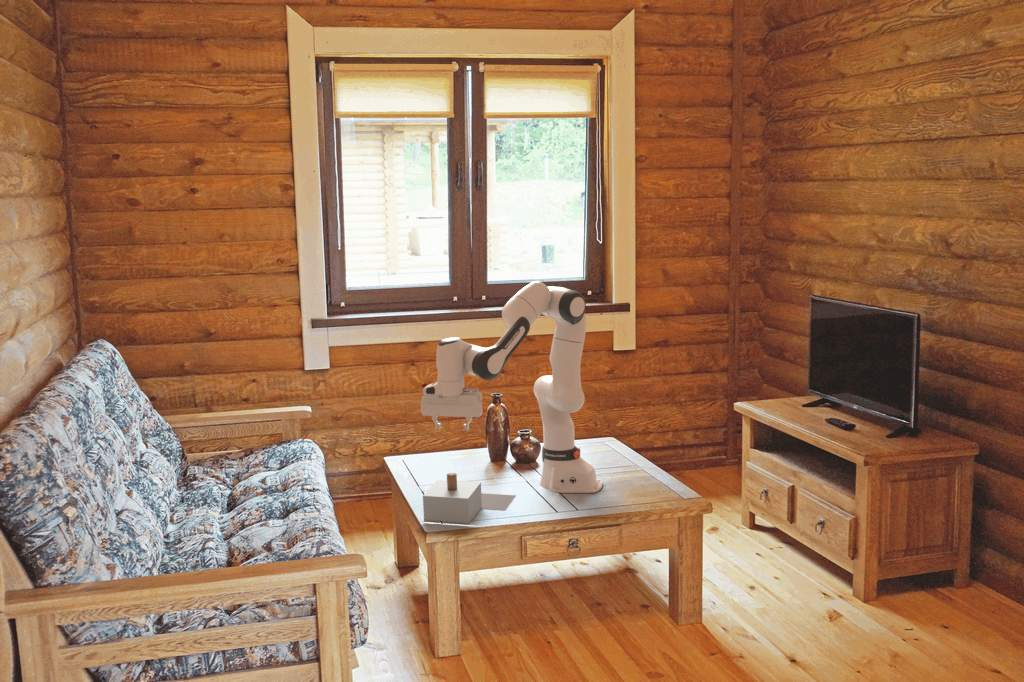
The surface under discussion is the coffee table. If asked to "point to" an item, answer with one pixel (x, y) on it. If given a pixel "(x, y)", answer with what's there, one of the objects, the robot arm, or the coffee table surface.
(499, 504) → the mat
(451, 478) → the cover
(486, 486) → the coffee table surface
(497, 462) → the coffee table surface
